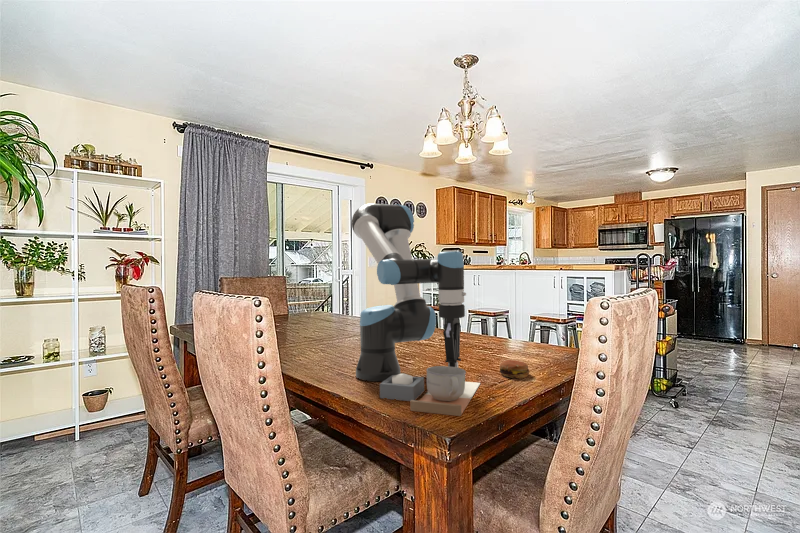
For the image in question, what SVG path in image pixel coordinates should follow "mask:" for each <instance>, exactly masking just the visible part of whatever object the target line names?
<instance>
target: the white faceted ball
mask: <svg viewBox="0 0 800 533" xmlns="http://www.w3.org/2000/svg"><path fill="white" fill-rule="evenodd" d="M400 373H401V374H398V375H394V376H392V383H394V384H406V385H410V384H412V383H413V377H414V376H413V375H411V374H408V373H405V372H400Z"/></svg>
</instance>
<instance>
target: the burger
mask: <svg viewBox="0 0 800 533" xmlns="http://www.w3.org/2000/svg"><path fill="white" fill-rule="evenodd" d="M499 373H500V374H501V375H502V376H504V377H506V378H511V379H512V378H516V379H518V378H521V379H526V378H528V377H529V375H530V369H529V366H528V364H527V363H526V362H524V361H520V360H517V359H516V360H514V359H507V360H503V361H501V363H500V364H499Z"/></svg>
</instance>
